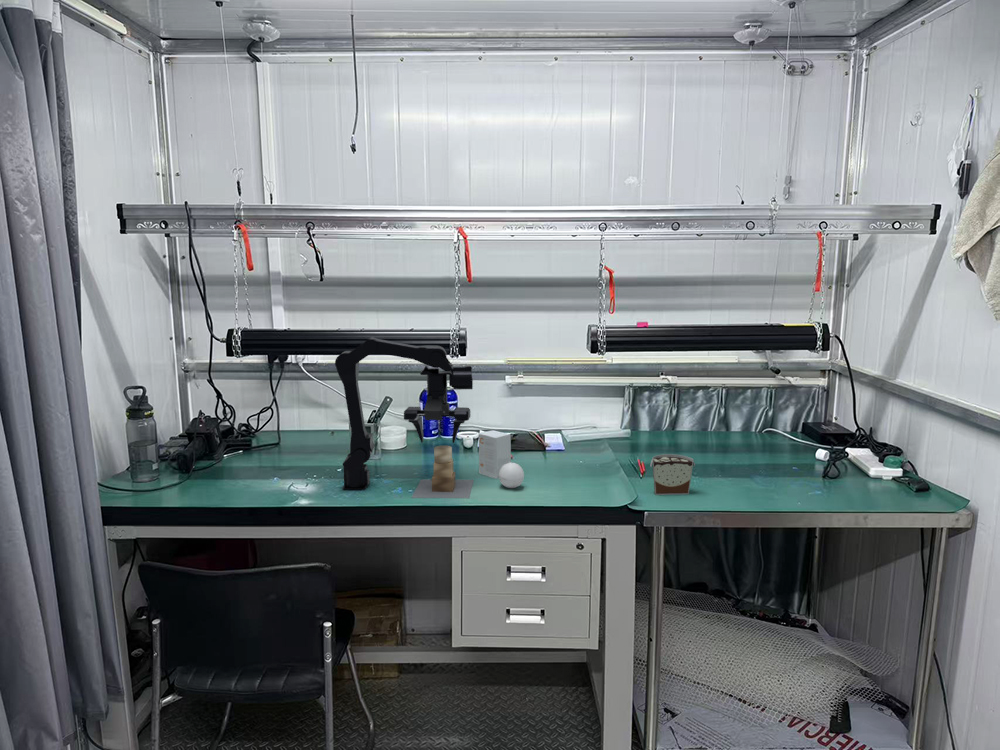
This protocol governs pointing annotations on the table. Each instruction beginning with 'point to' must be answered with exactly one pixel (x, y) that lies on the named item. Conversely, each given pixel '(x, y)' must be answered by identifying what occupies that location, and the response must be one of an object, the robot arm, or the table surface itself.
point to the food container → (672, 474)
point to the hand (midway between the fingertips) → (437, 442)
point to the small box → (493, 452)
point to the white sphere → (511, 475)
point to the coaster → (460, 491)
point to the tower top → (443, 470)
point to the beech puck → (443, 454)
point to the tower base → (443, 484)
